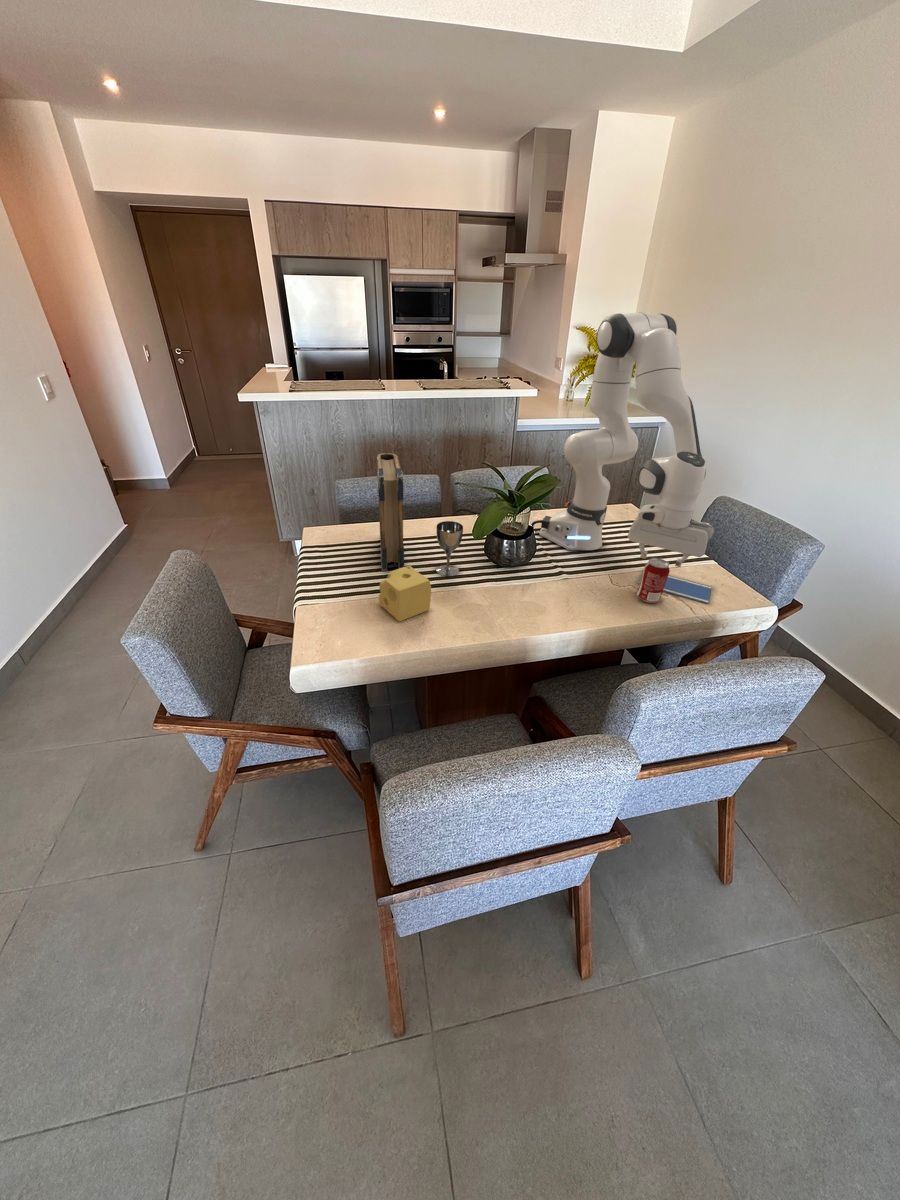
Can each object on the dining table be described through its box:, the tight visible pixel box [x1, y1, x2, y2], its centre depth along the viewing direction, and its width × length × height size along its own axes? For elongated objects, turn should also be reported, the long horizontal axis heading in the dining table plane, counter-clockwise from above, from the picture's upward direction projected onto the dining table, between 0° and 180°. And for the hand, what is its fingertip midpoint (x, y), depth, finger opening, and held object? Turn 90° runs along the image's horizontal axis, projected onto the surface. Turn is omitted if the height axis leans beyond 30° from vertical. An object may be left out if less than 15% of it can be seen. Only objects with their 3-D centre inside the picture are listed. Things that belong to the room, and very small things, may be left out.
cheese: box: [378, 565, 432, 622], centre depth 134 cm, size 10×11×10 cm
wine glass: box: [435, 520, 464, 577], centre depth 151 cm, size 8×8×15 cm
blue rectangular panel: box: [638, 574, 712, 605], centre depth 153 cm, size 20×11×1 cm, turn 61°
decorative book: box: [376, 452, 405, 572], centre depth 156 cm, size 23×7×30 cm, turn 9°
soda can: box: [636, 557, 671, 604], centre depth 144 cm, size 7×7×12 cm
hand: (660, 561), depth 140 cm, fingers open, 8 cm apart
